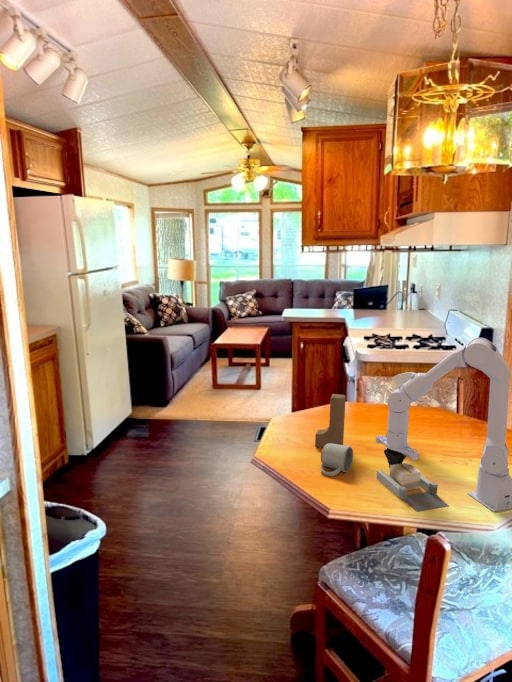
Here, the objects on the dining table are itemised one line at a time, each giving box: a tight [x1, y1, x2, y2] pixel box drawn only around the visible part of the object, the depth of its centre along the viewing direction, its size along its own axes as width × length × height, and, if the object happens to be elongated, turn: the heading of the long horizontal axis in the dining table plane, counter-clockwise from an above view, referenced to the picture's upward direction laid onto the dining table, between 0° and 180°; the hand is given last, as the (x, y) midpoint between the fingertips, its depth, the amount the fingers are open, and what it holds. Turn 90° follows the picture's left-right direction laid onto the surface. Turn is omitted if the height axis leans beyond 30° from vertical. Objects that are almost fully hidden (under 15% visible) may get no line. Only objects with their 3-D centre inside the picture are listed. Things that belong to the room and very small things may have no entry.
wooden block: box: [314, 393, 347, 448], centre depth 162 cm, size 9×4×18 cm, turn 72°
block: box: [388, 462, 422, 491], centre depth 137 cm, size 6×6×5 cm
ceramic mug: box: [320, 443, 354, 477], centre depth 145 cm, size 11×8×8 cm
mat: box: [403, 491, 450, 513], centre depth 128 cm, size 8×10×1 cm
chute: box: [376, 469, 438, 501], centre depth 136 cm, size 13×11×3 cm
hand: (394, 473), depth 142 cm, fingers closed
